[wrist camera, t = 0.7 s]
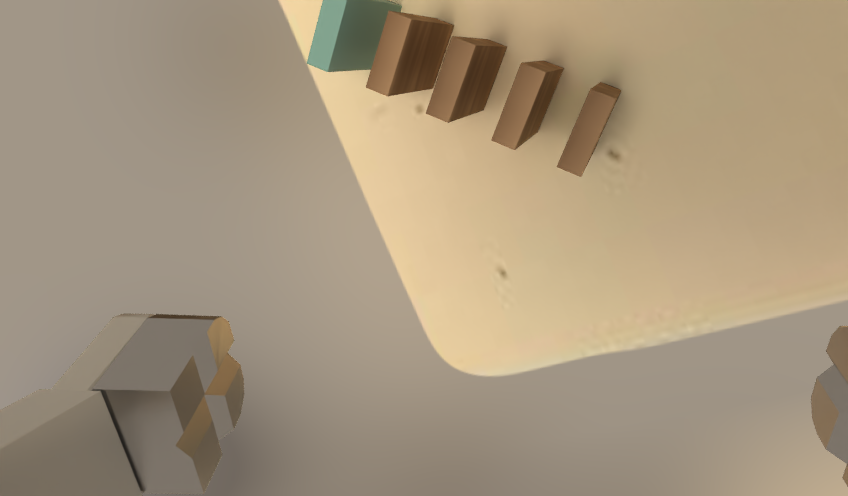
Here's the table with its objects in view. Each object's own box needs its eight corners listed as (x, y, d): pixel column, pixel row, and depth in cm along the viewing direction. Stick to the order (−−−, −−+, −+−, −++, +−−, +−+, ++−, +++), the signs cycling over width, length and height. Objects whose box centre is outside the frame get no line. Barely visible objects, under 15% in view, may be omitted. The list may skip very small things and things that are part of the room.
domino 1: (402, 5, 50) (348, -5, 40) (383, 68, 51) (327, 71, 42) (383, -1, 50) (326, -14, 41) (365, 61, 52) (306, 63, 43)
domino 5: (621, 90, 46) (616, 98, 37) (592, 153, 48) (580, 176, 39) (600, 82, 47) (590, 89, 38) (572, 145, 49) (556, 166, 39)
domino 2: (454, 25, 49) (411, 19, 40) (432, 88, 51) (387, 96, 42) (435, 18, 49) (388, 10, 40) (414, 81, 51) (365, 87, 42)
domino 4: (563, 68, 47) (546, 72, 38) (537, 131, 49) (514, 149, 40) (543, 60, 47) (521, 62, 38) (518, 124, 49) (491, 140, 40)
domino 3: (507, 46, 48) (475, 45, 39) (483, 109, 50) (448, 122, 41) (487, 39, 48) (451, 36, 39) (465, 102, 50) (425, 113, 41)
